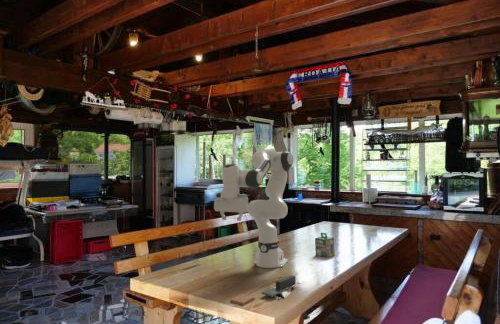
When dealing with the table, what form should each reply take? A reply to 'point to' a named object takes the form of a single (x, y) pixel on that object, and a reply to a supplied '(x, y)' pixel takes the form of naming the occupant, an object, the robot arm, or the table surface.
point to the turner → (280, 286)
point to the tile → (242, 299)
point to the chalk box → (324, 246)
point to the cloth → (284, 292)
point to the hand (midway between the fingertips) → (231, 220)
